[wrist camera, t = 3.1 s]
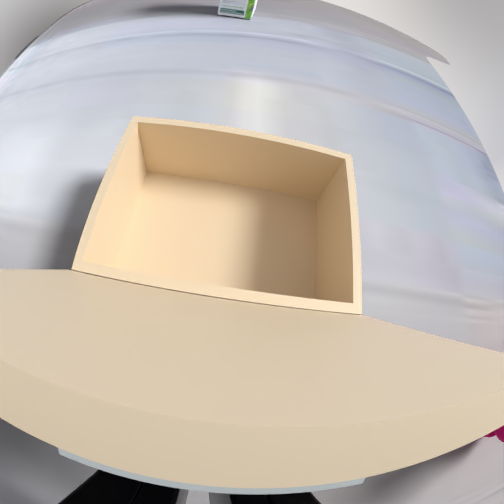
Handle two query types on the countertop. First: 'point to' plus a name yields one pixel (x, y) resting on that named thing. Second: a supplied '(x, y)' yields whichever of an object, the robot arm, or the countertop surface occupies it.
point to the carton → (227, 217)
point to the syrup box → (237, 8)
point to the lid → (231, 386)
